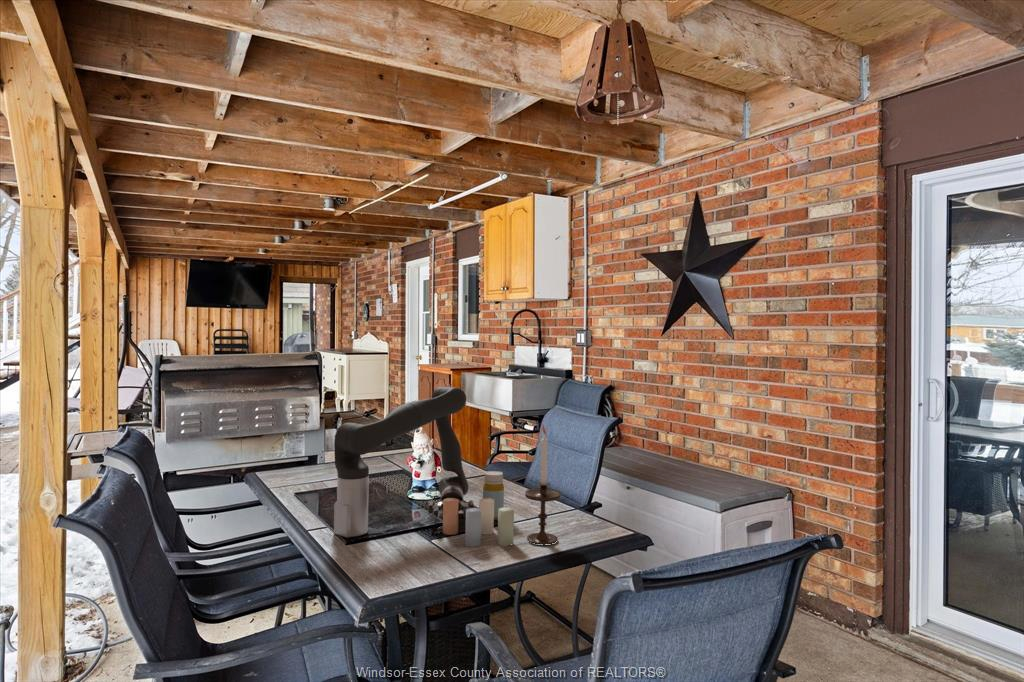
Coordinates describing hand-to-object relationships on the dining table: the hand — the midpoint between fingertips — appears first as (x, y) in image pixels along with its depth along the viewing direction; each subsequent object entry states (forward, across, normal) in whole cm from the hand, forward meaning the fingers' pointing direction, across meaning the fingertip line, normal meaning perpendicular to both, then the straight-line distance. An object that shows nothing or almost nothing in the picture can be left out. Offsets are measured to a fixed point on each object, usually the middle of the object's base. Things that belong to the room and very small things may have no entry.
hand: (450, 513), depth 189 cm
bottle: (-16, +14, +6) cm, 22 cm away
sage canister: (+9, +16, +6) cm, 20 cm away
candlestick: (+7, +28, +6) cm, 29 cm away
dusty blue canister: (+10, +7, +6) cm, 13 cm away
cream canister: (-1, +11, +6) cm, 13 cm away
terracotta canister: (-1, 0, +6) cm, 6 cm away
